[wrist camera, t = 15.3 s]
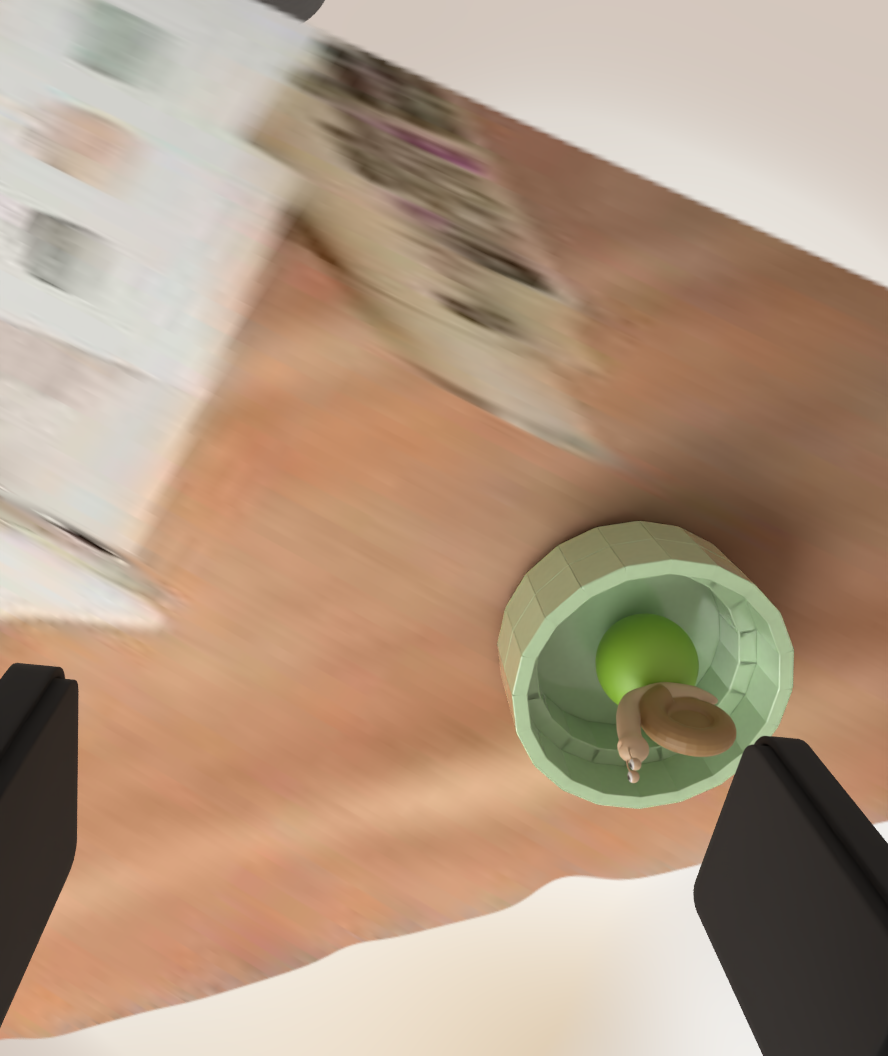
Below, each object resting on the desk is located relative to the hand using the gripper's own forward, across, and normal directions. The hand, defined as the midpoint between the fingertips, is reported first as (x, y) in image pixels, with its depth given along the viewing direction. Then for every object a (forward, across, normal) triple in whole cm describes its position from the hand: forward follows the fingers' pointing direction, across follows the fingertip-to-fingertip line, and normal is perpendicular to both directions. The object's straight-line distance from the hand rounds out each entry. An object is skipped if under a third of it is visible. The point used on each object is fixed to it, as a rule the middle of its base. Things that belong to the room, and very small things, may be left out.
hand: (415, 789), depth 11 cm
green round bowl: (+31, -16, +13) cm, 37 cm away
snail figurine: (+31, -16, +13) cm, 37 cm away
